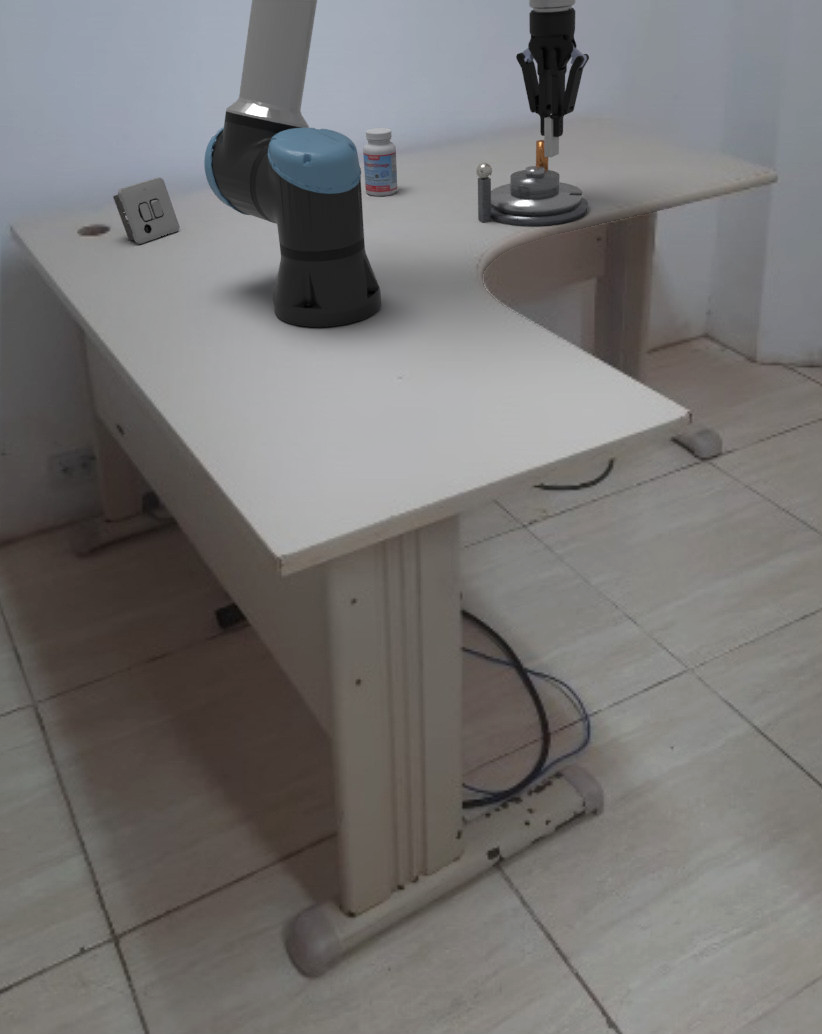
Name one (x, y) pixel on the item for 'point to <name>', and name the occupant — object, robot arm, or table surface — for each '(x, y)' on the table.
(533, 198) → the cover
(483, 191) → the post
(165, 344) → the table surface
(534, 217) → the turntable base
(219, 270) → the table surface
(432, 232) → the table surface
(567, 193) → the platter
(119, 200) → the electrical switch
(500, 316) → the table surface
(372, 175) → the pill bottle
